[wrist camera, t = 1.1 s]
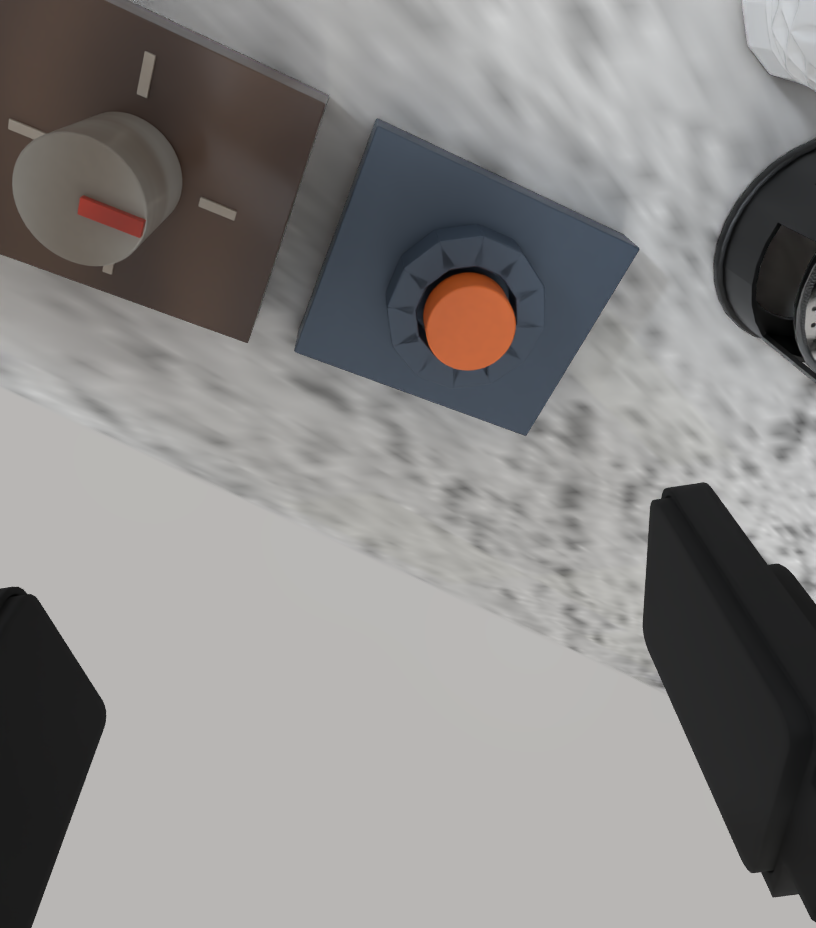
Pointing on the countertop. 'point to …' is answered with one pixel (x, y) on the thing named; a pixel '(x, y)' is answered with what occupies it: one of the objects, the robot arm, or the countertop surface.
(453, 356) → the release button
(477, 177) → the button block
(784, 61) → the white cup
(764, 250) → the french press
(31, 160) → the lock knob
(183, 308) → the panel
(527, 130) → the countertop surface
